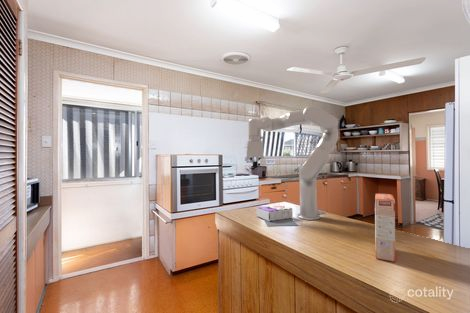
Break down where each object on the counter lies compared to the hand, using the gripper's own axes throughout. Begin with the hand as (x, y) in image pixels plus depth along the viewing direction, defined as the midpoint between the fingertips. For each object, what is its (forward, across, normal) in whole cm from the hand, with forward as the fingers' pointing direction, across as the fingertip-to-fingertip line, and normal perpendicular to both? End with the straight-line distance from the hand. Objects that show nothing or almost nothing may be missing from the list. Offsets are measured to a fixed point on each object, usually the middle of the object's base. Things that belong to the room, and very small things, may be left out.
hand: (255, 168), depth 144 cm
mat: (+29, -12, +12) cm, 34 cm away
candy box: (+26, -2, +11) cm, 28 cm away
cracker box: (+29, -41, +60) cm, 78 cm away
